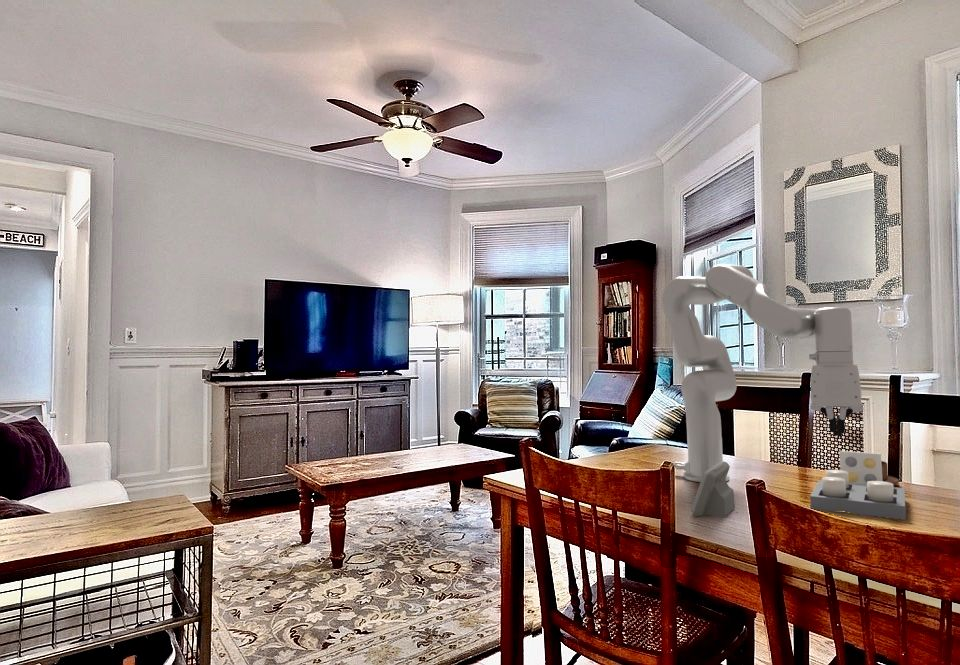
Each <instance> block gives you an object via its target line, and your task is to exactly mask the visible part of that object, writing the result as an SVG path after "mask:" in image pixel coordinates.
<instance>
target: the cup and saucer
mask: <svg viewBox="0 0 960 665" xmlns="http://www.w3.org/2000/svg"><path fill="white" fill-rule="evenodd" d="M881 462H882V480H883V482H889V483H892V484H893V487H895V485H897V484H899V482H900V481H899V479H898V478H897V477H894V476H892V475H889V474H888V463H887V462H886V461H883V460H881Z"/></svg>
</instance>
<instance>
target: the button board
mask: <svg viewBox="0 0 960 665" xmlns="http://www.w3.org/2000/svg"><path fill="white" fill-rule="evenodd" d="M893 487H894V494H893V501H891V502H881V501H874V500H870V499H868V494H867V485H864V484H854V483H849V487H848V488H846V496H843V497H834V496H828V495H824V494H823V493H822V479H821V480H818V481H817V483H816V484H815V486H814V489H813V490H812V492H811V494H810V495H809V500H810V503H809V504H810V509H811V508H812V509H811V510H818V511H825V512H832V513H833V512H834V513H836V512H835V511H845V512H850V513H855V514H854V515H857V514H859V515H858V516H867V517H874V516H877V517H876V518H882V517H888V518H887V519H891V518H894V519H893V520H899V519H901V520H900V521H907V516H906V512H907V511H906V490H905V487H897V486H893Z"/></svg>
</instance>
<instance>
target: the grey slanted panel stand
mask: <svg viewBox="0 0 960 665" xmlns="http://www.w3.org/2000/svg"><path fill="white" fill-rule="evenodd" d="M730 467H731V466H730V464H729V463H728V462H726V461H724V460H723V462H719V463H717V464H716V465H714V466H713V467H711V468H710V469H709V470H707V471H706V472H705V473H704V474H703V477H702V479H701V482H699V485H698V488H697V490H696V495H695V497H694V500H693V502H692V505H691V509H690V512H691V514H692V515H693V516H695V517H702V516H703V515H704V516H711V517H712V516H714V517H719V518H726V517H727V516H728V515H729V514H730V513H731V512H732V510H734V508H736V507H735V504H736V503H735V493H734V489H733V488H732V487H730V486H729V484H728V483H727V481H725V479H726V476H727V474H728V473H729V470H730ZM728 475H729V474H728Z"/></svg>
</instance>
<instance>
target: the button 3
mask: <svg viewBox="0 0 960 665" xmlns="http://www.w3.org/2000/svg"><path fill="white" fill-rule="evenodd" d="M893 487H894V486H893V485H892V484H891V483H888V482H882V481H868V482H867V494H868V499H870V500H874V501H881V502H891V501H893Z"/></svg>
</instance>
